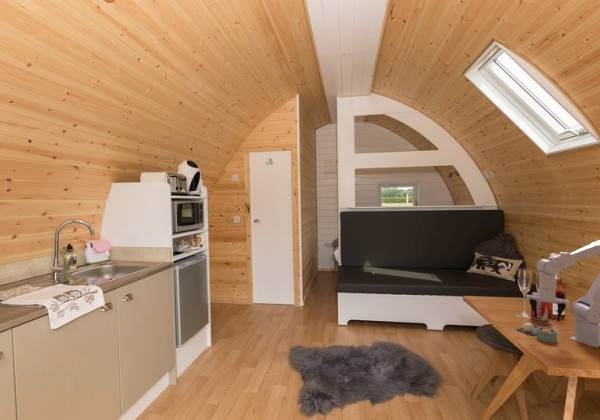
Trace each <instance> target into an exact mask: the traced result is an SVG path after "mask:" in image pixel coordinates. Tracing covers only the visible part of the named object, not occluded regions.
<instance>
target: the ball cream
mask: <svg viewBox="0 0 600 420" xmlns="http://www.w3.org/2000/svg"><path fill="white" fill-rule="evenodd" d="M533 325H534V324H533V323H529V322H526V323H524V324H523V326H522V327H523V328H524V330H525V331H527V332H532V331H533V330H534V326H533Z"/></svg>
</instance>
